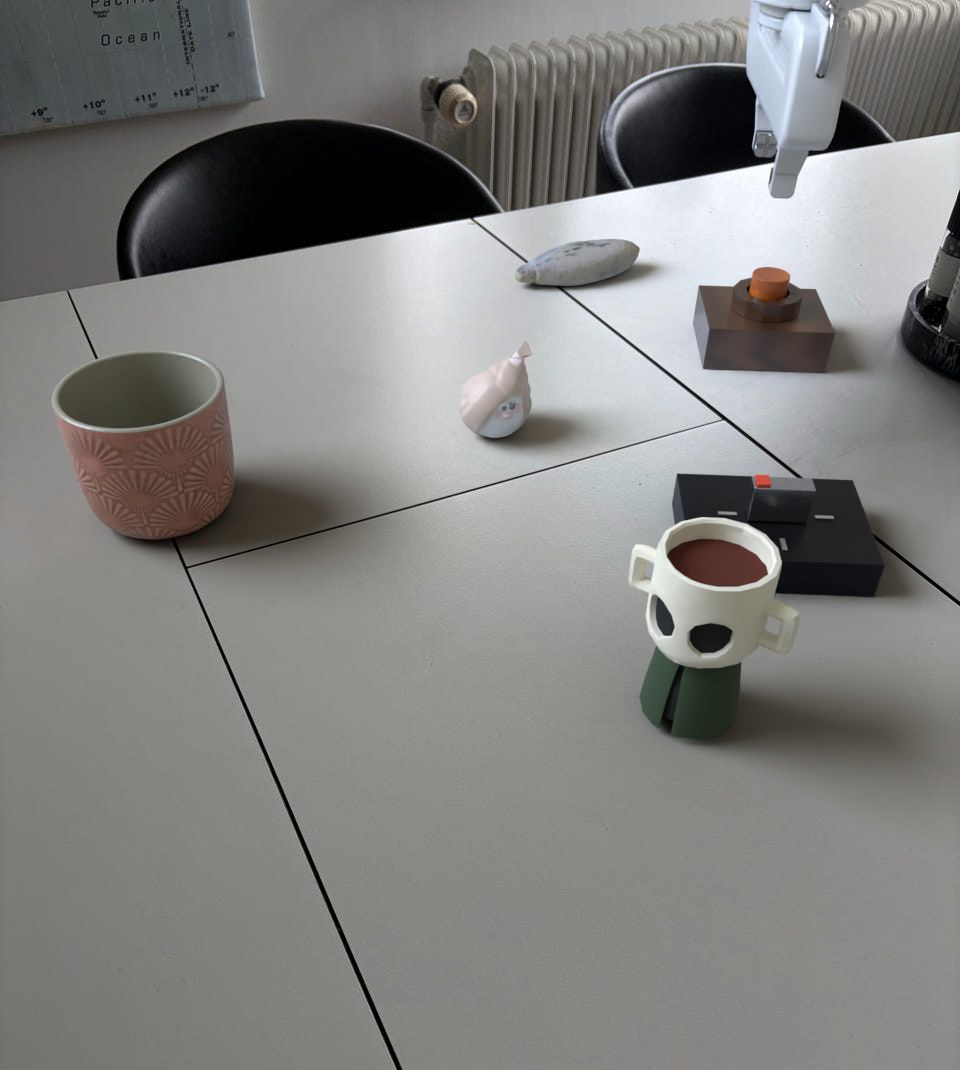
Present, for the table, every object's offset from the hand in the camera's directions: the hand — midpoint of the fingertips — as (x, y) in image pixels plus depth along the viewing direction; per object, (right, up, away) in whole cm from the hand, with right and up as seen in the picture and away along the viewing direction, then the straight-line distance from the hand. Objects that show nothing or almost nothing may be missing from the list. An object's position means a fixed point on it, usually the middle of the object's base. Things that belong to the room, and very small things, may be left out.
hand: (770, 174), depth 83 cm
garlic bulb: (-22, -18, +11) cm, 31 cm away
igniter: (+5, -7, +23) cm, 25 cm away
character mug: (-10, -42, -14) cm, 45 cm away
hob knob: (-1, -28, -4) cm, 28 cm away
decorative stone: (-12, +4, +36) cm, 38 cm away
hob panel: (-1, -30, -2) cm, 30 cm away
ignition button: (+5, -3, +20) cm, 21 cm away
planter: (-48, -27, +2) cm, 55 cm away
